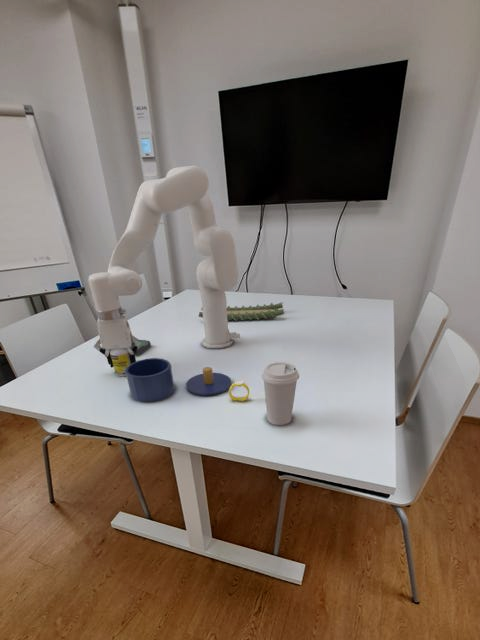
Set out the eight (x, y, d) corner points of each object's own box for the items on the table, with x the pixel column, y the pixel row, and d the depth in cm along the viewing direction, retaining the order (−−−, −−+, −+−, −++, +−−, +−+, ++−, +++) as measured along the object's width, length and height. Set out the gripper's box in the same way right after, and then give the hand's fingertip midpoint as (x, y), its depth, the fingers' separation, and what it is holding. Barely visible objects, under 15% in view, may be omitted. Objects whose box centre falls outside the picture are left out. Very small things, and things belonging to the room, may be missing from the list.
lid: (229, 374, 122) (228, 357, 119) (233, 394, 110) (231, 377, 107) (187, 377, 121) (185, 361, 118) (185, 398, 109) (183, 381, 106)
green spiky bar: (282, 311, 178) (282, 301, 176) (284, 320, 166) (284, 309, 164) (202, 314, 181) (201, 304, 178) (198, 323, 169) (197, 312, 166)
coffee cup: (287, 432, 92) (289, 380, 84) (255, 422, 97) (254, 372, 88) (302, 414, 99) (305, 364, 90) (272, 406, 103) (272, 358, 95)
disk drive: (106, 353, 143) (138, 356, 139) (104, 347, 141) (137, 349, 137) (120, 344, 151) (151, 346, 147) (119, 337, 149) (150, 339, 145)
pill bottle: (111, 375, 125) (102, 343, 119) (123, 367, 130) (115, 337, 124) (126, 377, 123) (118, 345, 117) (137, 369, 128) (130, 338, 122)
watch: (229, 402, 106) (227, 384, 103) (230, 397, 109) (228, 380, 105) (249, 402, 106) (248, 384, 102) (249, 397, 108) (249, 380, 105)
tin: (175, 380, 120) (171, 356, 115) (172, 400, 109) (168, 375, 104) (135, 383, 119) (129, 359, 115) (128, 403, 108) (121, 378, 103)
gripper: (138, 308, 119) (149, 358, 129) (86, 312, 118) (100, 362, 128) (135, 315, 112) (146, 367, 122) (79, 319, 112) (95, 371, 122)
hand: (123, 364), depth 125 cm, fingers closed on pill bottle, 6 cm apart
